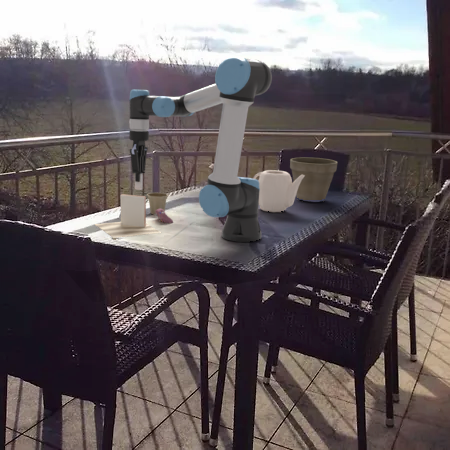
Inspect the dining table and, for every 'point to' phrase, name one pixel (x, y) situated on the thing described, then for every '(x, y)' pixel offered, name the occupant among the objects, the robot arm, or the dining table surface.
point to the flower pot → (157, 201)
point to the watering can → (277, 190)
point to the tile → (133, 210)
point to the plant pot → (313, 176)
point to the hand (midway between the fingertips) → (138, 189)
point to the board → (125, 230)
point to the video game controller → (163, 216)
